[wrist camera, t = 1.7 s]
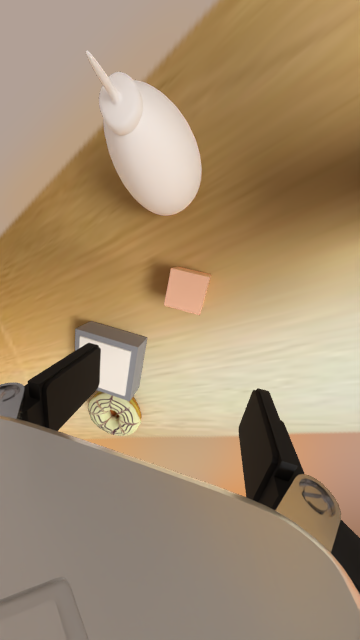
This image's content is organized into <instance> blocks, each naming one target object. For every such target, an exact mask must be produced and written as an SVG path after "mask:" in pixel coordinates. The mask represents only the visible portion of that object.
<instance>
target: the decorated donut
mask: <svg viewBox="0 0 360 640" xmlns="http://www.w3.org/2000/svg"><path fill="white" fill-rule="evenodd" d="M88 407H89V408H88V411H89V415H90V417H91V420H92V421H93V422H94V423H95V424H96V425H97V426H98V427H99V428H100V429H102V430H104V431H106V432H107V433H110V434H113V435H118V436H125V435H130V434H132V433H134V432H135V431H136V430H137V428H138V426H139V425H140V423H141V412H140V408H139V406H138V404H137V402H136V400H135V399H134V398H133V397H132V399H131V400H130V401H127V400H124V399H121V398H118V397H115V396H112V395H109V394H107V393H104V392H101V391H99V392H98V393H97V394H96V395H95V396H94V397H93V398H92V399H91V401H90V402H89V405H88Z"/></svg>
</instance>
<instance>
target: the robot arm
mask: <svg viewBox="0 0 360 640" xmlns="http://www.w3.org/2000/svg"><path fill="white" fill-rule="evenodd" d="M100 359H101V349H100V348H99V346H98V345H96V344H92V343H87V344H85V345H84V346H82V347H81V348H79V349H78V350H76V351H74V352H73V353H71V354H70V355H68V356H66V357H65V358H63V359H62V360H60V361H59V362H57V363H55V364H54V365H52V366H51V367H49V368H48V369H46V370H44V371H43V372H41V373H40V374H38V375H36V376H35V377H33V378H32V379H30V380H29V381H28V384H27V385H25V386H23V385H22V384H20V383H5V384H1V385H0V640H360V538H359V537H358V536H357V535H356V534H355V533H354V532H353V531H352V530H351V529H350V528H349V527H348V526H347V525H346V524H345V523H344V522H343V521H342V520H341V511H340V508H339V505H338V503H337V501H336V499H335V498H334V496H333V495H332V494H331V492H330V491H329V490H328V489H327V488H326V487H325V486H324V485H323V484H322V483H321V482H319V481H318V480H317V479H315V478H313V477H311V476H309V475H305V474H304V472H303V469H302V467H301V464H300V462H299V459H298V457H297V454H296V452H295V449H294V447H293V445H292V442H291V439H290V437H289V434H288V432H287V429H286V427H285V425H284V423H283V422H282V421H281V420H280V418H279V416H278V413H277V411H276V408H275V406H274V403H273V400H272V398H271V395H270V393H269V391H266V390H262V389H257V390H253V392H252V394H251V397H250V399H249V402H248V404H247V407H246V410H245V412H244V415H243V417H242V420H241V423H240V425H239V439H240V447H241V456H242V464H243V472H244V480H245V489H246V497H244V496H241V495H239V494H236V493H233V492H230V491H228V490H225V489H222V488H220V487H217V486H215V485H212V484H209V483H206V482H203V481H201V480H197V479H195V478H192V477H189V476H186V475H183V474H181V473H178V472H175V471H172V470H169V469H166V468H163V467H161V466H158V465H155V464H152V463H149V462H146V461H143V460H141V459H137V458H134V457H132V456H129V455H126V454H123V453H120V452H117V451H114V450H111V449H108V448H106V447H103V446H100V445H97V444H93V443H91V442H88V441H85V440H82V439H79V438H76V437H73V436H70V435H67V434H64V433H61V432H58V430H59V429H60V428H61V427H62V426H63V425H64V424H65V422H66V421H67V420H68V419H69V418H70V417H71V416H72V415H73V414H74V413H75V412H76V411H77V410H78V409H79V408H80V407H81V405H82V404H83V403H84V402H85V401H86V400H87V399H88V398H89V397H90V396H91V395H92V394H93V393H94V392H95V391H96V390H97V388H98V386H99V383H100Z"/></svg>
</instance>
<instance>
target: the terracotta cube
mask: <svg viewBox="0 0 360 640" xmlns="http://www.w3.org/2000/svg"><path fill="white" fill-rule="evenodd" d="M210 278H211V274H207V273H203V272H199V271H195V270H191V269H187V268H183V267H174V268H171V271H170V276H169V282H168V287H167V292H166V297H165V302H164V306H168V307H171V308H175V309H179V310H183V311H186V312H190V313H194V314H197V315H200V313H201V310H202V307H203V304H204V300H205V297H206V293H207V289H208V285H209V282H210Z"/></svg>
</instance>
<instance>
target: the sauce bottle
mask: <svg viewBox="0 0 360 640" xmlns="http://www.w3.org/2000/svg"><path fill="white" fill-rule="evenodd" d="M86 55H87V57H88V60H89V62H90V64H91V66H92V68H93V70H94V71H95V73H96V75H97V76H98V78H99V80H100V81H101V83H102V88H101V90H100V95H99V107H100V111H101V114H102V116H103V121H104V133H105V138H106V143H107V147H108V150H109V154H110V156H111V159H112V162H113V164H114V167H115V169H116V171H117V173H118V175H119V177H120V179H121V180H122V182H123V184H124V186H125V187H126V188H127V190H128V191H129V192H130V194H131V195H132V196H133V197H134V198H135V200H137V201H138V202H139V203H140V204H141V205H142V206H143V207H144V208H146V209H148V210H149V211H151V212H153V213H155V214H158V215H162V216H169V215H174V214H176V213H179V212H181V211H182V210H184V209H185V208H186V207H187V206H188V205H189V204H190V203H191V202H192V200H193V199H194V198H195V196H196V194H197V192H198V189H199V186H200V182H201V173H202V168H201V158H200V153H199V149H198V146H197V143H196V140H195V137H194V135H193V133H192V131H191V128H190V126H189V124H188V123H187V121H186V119H185V118H184V117H183V115H182V114H181V112H180V111H179V109H178V108H177V107H176V106H175V105H174V104H173V103H172V102H171V101H170V100H169V99H168V98H167V97H166V96H165V95H164V94H163V93H162V92H161V91H159V90H158V89H156V88H154V87H153V86H151V85H149V84H147V83H145V82H142V81H138V80H133V79H132V78H131V77H130V76H128V75H127V74H125V73H123V72H116V73H113V74H111V75H110V76H109V77H108V76H107V75H106V73H105V72H104V70H103V69H102V67H101V66H100V64H99V63H98V62H97V60H96V59H95V58H94V57H93V55H91V53H90V52H88V51H87V50H86Z"/></svg>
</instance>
